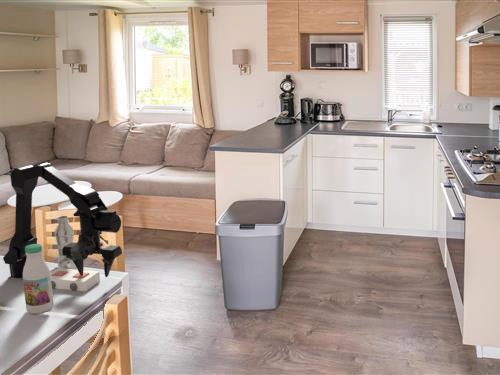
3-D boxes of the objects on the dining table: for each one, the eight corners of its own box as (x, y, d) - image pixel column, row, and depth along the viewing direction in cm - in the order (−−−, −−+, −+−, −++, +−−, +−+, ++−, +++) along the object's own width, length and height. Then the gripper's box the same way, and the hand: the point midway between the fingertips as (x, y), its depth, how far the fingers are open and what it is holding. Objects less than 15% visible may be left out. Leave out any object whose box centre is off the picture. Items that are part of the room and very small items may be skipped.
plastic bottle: (80, 268, 198) (75, 214, 193) (73, 275, 191) (67, 219, 187) (63, 267, 198) (58, 214, 194) (55, 274, 192) (49, 219, 188)
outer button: (73, 281, 179) (73, 276, 178) (79, 277, 182) (79, 272, 182) (83, 282, 178) (82, 276, 177) (89, 278, 181) (88, 272, 181)
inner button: (52, 279, 181) (51, 274, 181) (59, 275, 184) (58, 270, 184) (61, 280, 180) (61, 275, 180) (68, 276, 183) (67, 271, 183)
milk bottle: (33, 303, 168) (25, 241, 164) (57, 303, 168) (51, 241, 164) (22, 315, 161) (14, 250, 156) (48, 314, 161) (40, 250, 156)
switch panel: (40, 289, 179) (38, 277, 179) (57, 278, 188) (56, 267, 187) (84, 293, 175) (83, 281, 174) (100, 282, 184) (99, 270, 183)
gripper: (49, 235, 170) (54, 282, 173) (102, 239, 165) (106, 287, 168) (70, 225, 180) (74, 270, 184) (120, 228, 175) (124, 274, 179)
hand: (94, 275), depth 178 cm, fingers open, 9 cm apart
